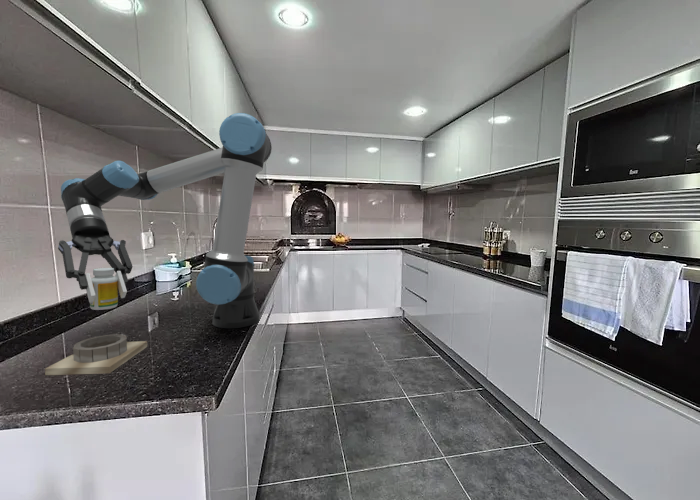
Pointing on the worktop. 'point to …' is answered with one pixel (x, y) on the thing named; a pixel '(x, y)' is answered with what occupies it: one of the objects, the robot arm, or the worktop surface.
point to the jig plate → (95, 366)
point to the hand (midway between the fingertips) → (108, 296)
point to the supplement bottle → (104, 289)
